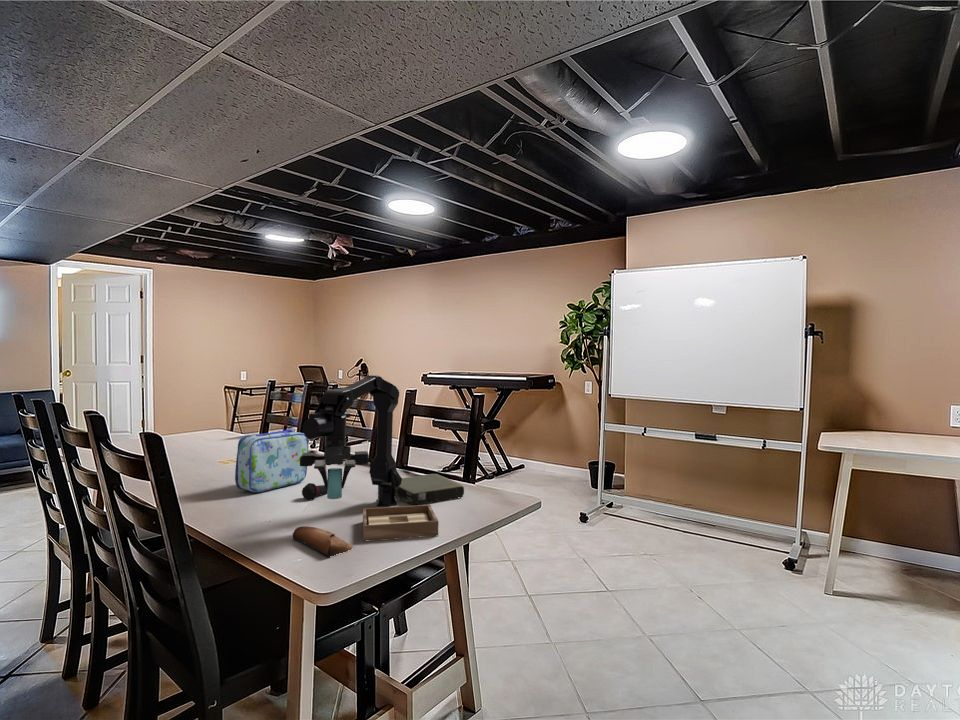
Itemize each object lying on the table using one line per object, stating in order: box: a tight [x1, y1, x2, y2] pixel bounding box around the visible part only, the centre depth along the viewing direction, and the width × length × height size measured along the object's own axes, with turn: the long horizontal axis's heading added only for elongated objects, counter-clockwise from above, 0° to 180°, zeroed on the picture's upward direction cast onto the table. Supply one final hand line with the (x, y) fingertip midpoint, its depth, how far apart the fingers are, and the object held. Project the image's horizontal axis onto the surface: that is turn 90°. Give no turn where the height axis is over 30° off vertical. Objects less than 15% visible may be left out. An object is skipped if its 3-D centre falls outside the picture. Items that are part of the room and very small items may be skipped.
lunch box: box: [234, 429, 309, 493], centre depth 186 cm, size 26×11×21 cm, turn 149°
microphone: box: [301, 482, 327, 500], centre depth 177 cm, size 6×6×20 cm
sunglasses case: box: [292, 525, 354, 558], centre depth 129 cm, size 18×7×7 cm
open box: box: [362, 504, 440, 542], centre depth 142 cm, size 16×20×4 cm
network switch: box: [395, 473, 465, 506], centre depth 178 cm, size 23×24×5 cm
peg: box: [326, 467, 343, 500], centre depth 142 cm, size 4×4×8 cm
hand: (334, 488), depth 142 cm, fingers closed on peg, 4 cm apart
